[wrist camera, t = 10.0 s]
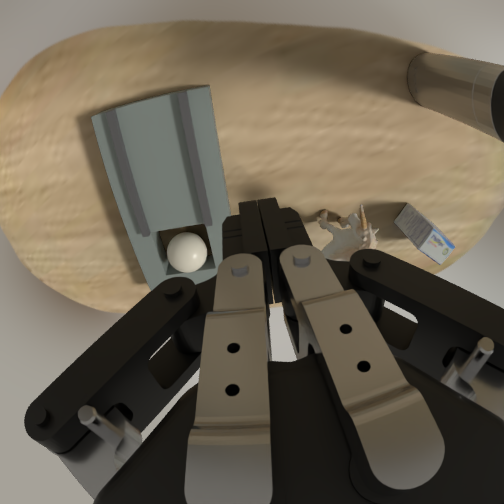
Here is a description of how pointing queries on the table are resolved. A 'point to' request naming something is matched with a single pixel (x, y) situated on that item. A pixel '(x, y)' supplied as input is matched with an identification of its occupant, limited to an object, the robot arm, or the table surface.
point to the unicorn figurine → (348, 236)
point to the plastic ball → (187, 252)
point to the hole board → (165, 175)
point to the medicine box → (424, 234)
